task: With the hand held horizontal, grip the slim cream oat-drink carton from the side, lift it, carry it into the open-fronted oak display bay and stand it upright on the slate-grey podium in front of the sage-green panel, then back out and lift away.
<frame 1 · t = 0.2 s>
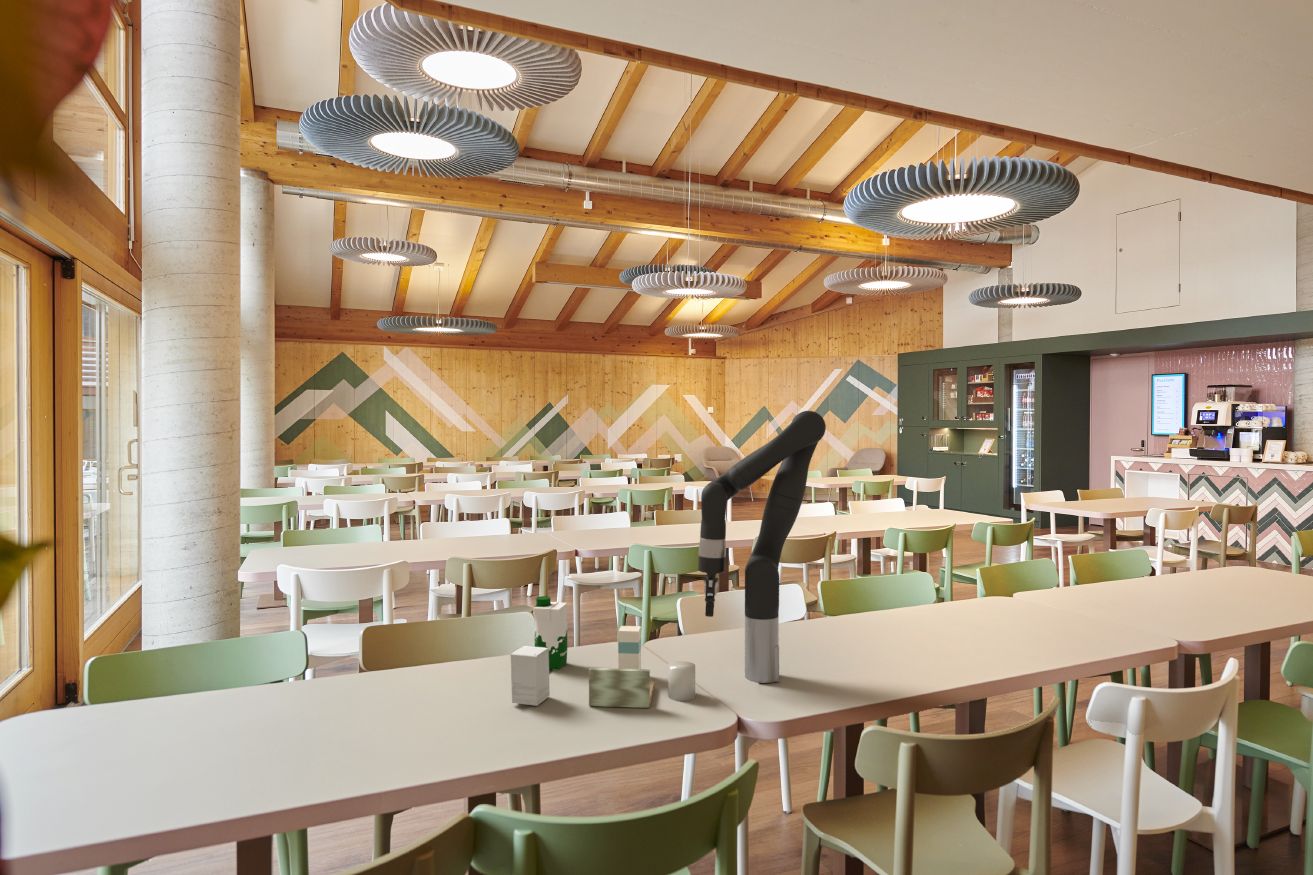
hand: (709, 612, 215), 18 cm above the table, tool pointing down, fingers open, 8 cm apart
white tapered tumbler: (681, 696, 199), on the table
display bay: (622, 696, 198), on the table
milk carton: (551, 667, 224), on the table
oat carton: (629, 679, 212), on the table
supplement box: (530, 700, 197), on the table
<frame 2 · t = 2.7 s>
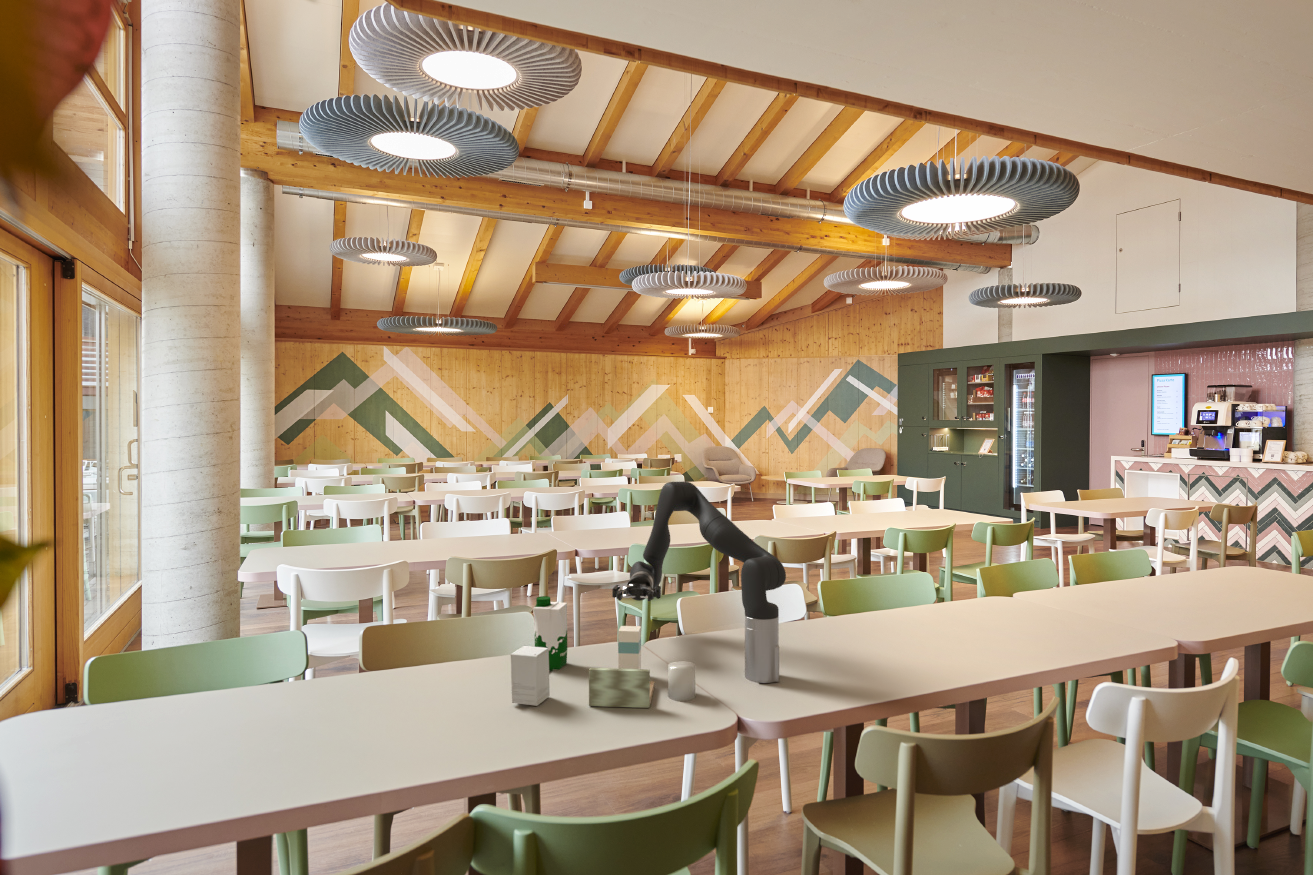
hand: (634, 597, 223), 20 cm above the table, tool horizontal, fingers open, 8 cm apart
nothing on the table moved.
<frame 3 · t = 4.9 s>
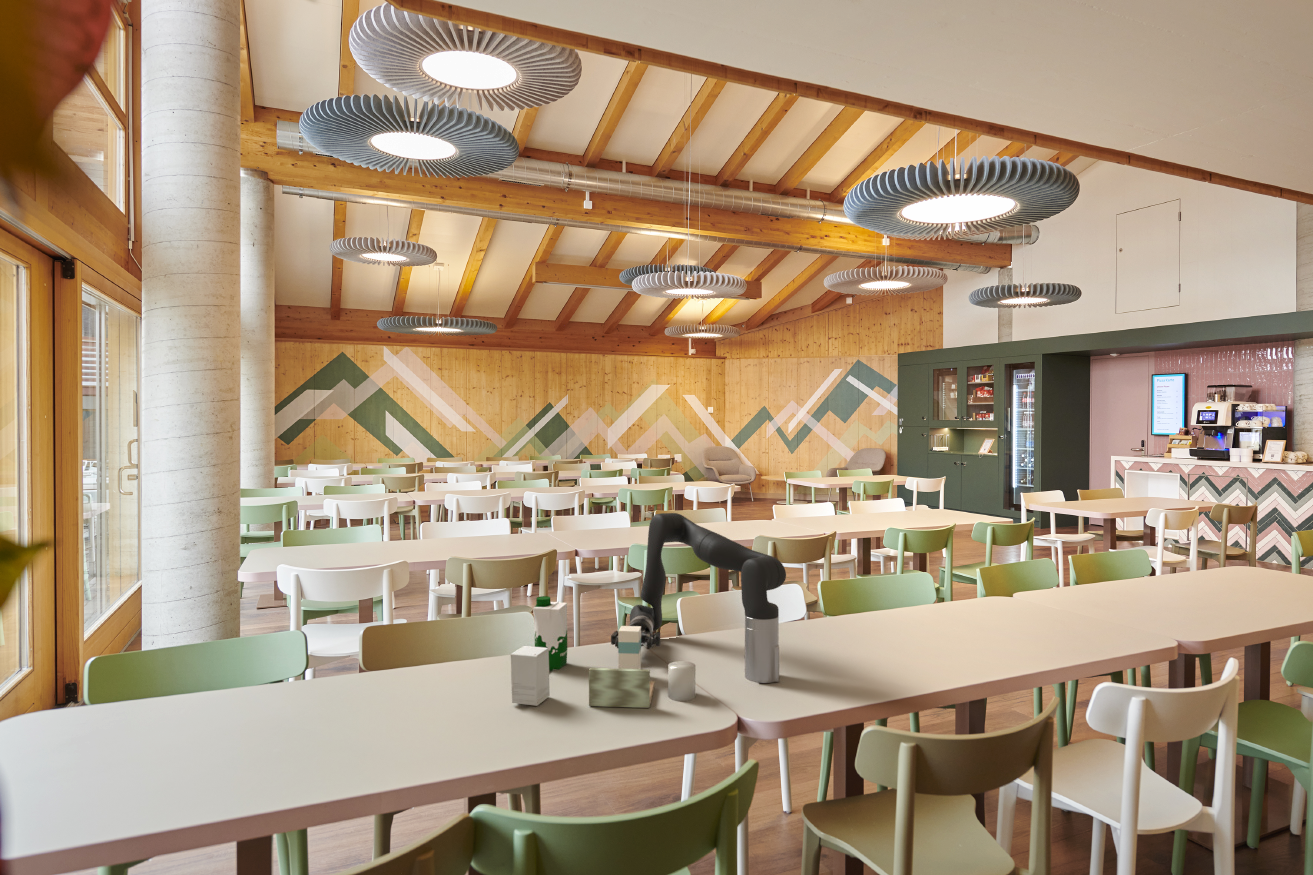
hand: (633, 645, 219), 7 cm above the table, tool horizontal, fingers open, 8 cm apart
nothing on the table moved.
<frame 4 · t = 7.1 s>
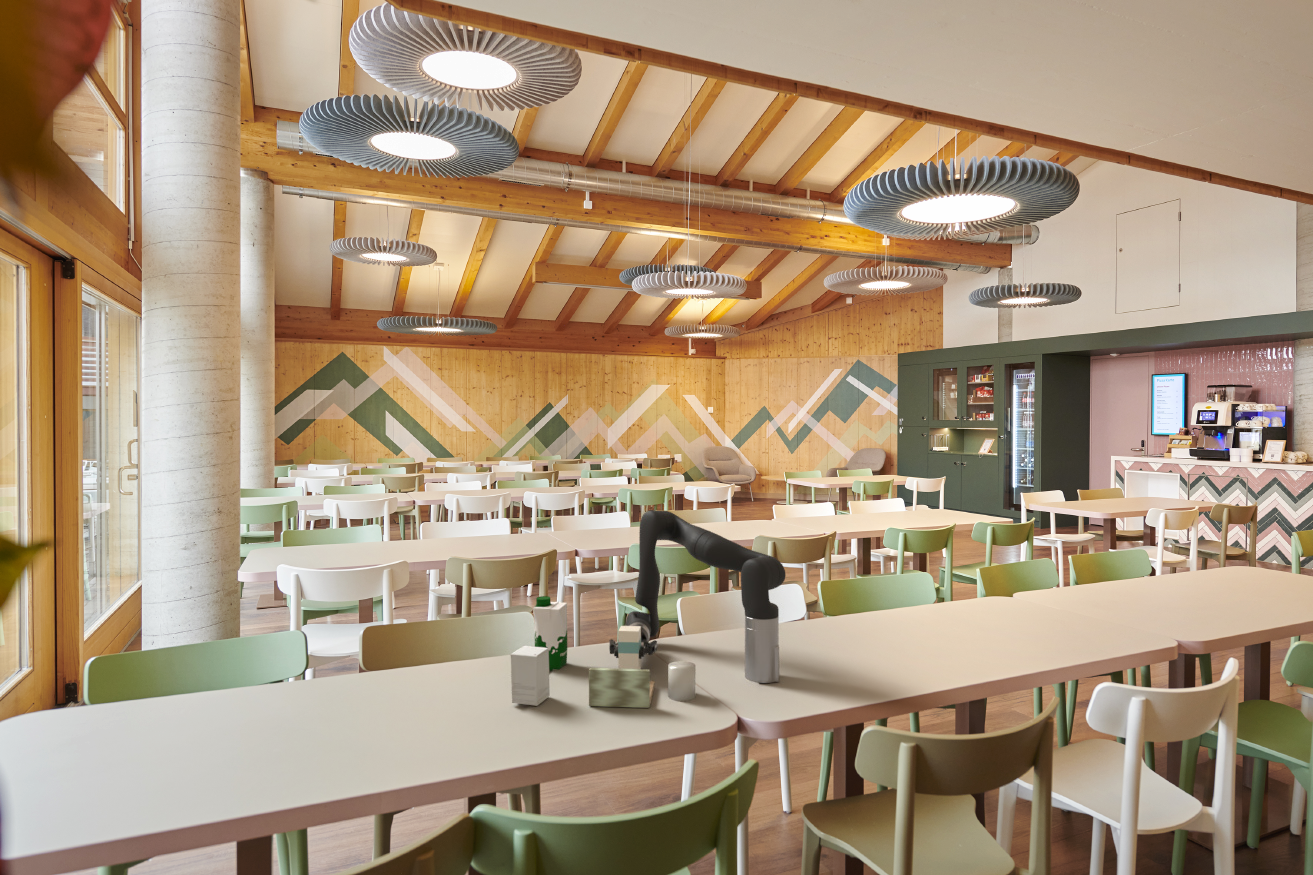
hand: (628, 654, 210), 8 cm above the table, tool horizontal, fingers closed on oat carton, 5 cm apart
oat carton: (629, 679, 212), on the table, touching gripper
everything else where it was.
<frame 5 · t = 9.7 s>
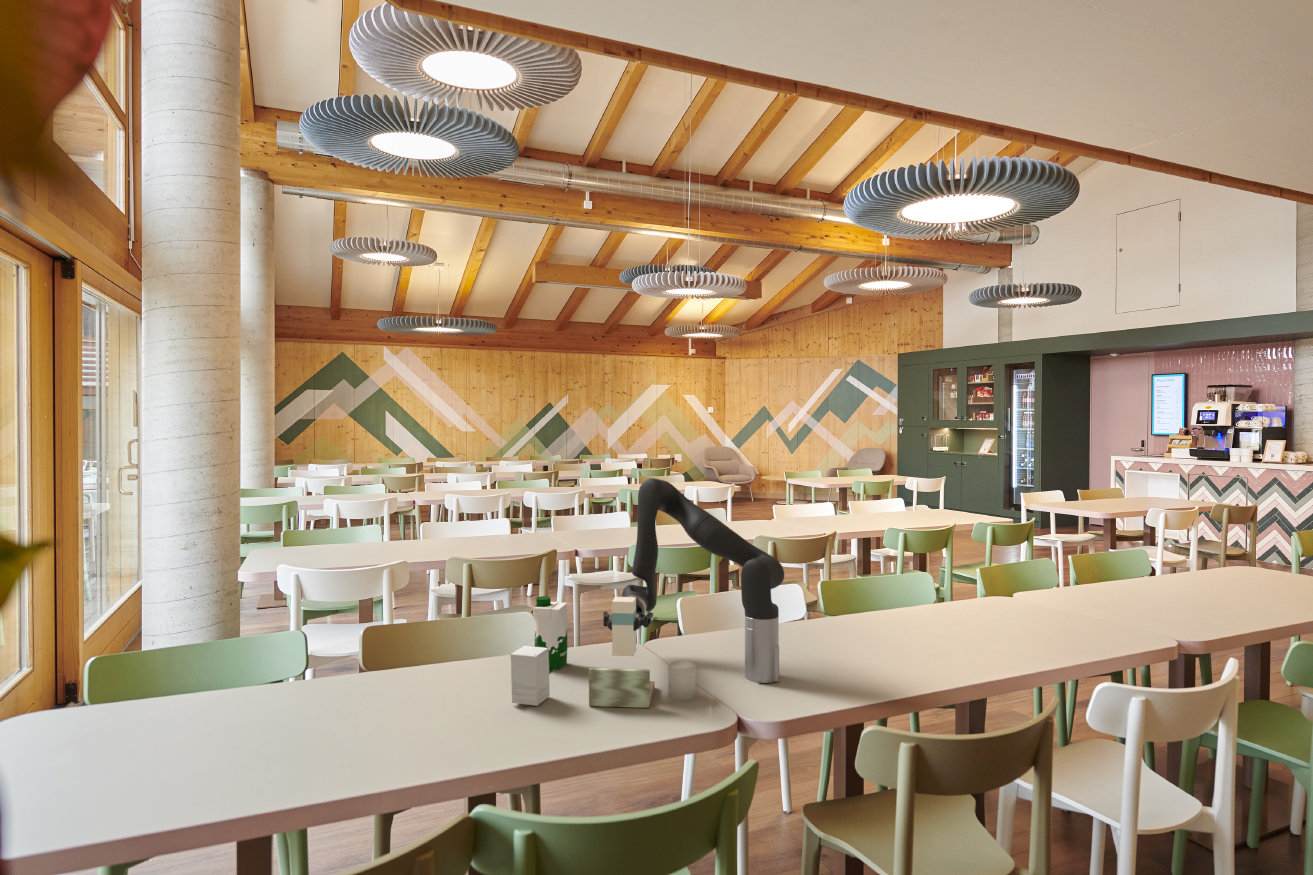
hand: (622, 626, 200), 18 cm above the table, tool horizontal, fingers closed on oat carton, 5 cm apart
oat carton: (624, 652, 202), point 10 cm above the table, touching gripper
everything else where it was.
when the fingers open (11 cm above the table, at t = 12.3 s): oat carton drops 1 cm, resting on display bay.
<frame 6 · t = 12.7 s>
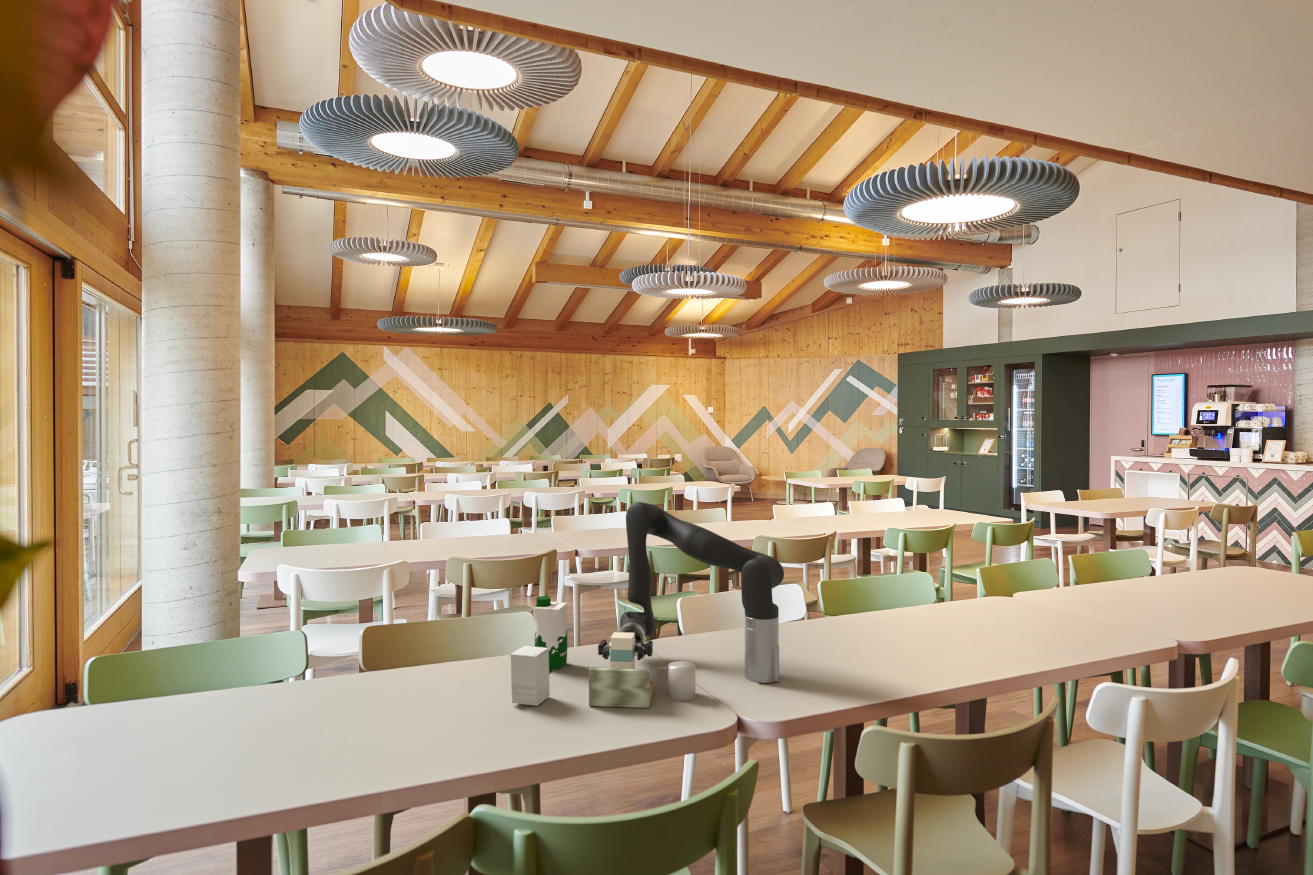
hand: (622, 655, 197), 11 cm above the table, tool horizontal, fingers open, 8 cm apart
oat carton: (622, 689, 200), point 2 cm above the table, touching display bay
everything else where it was.
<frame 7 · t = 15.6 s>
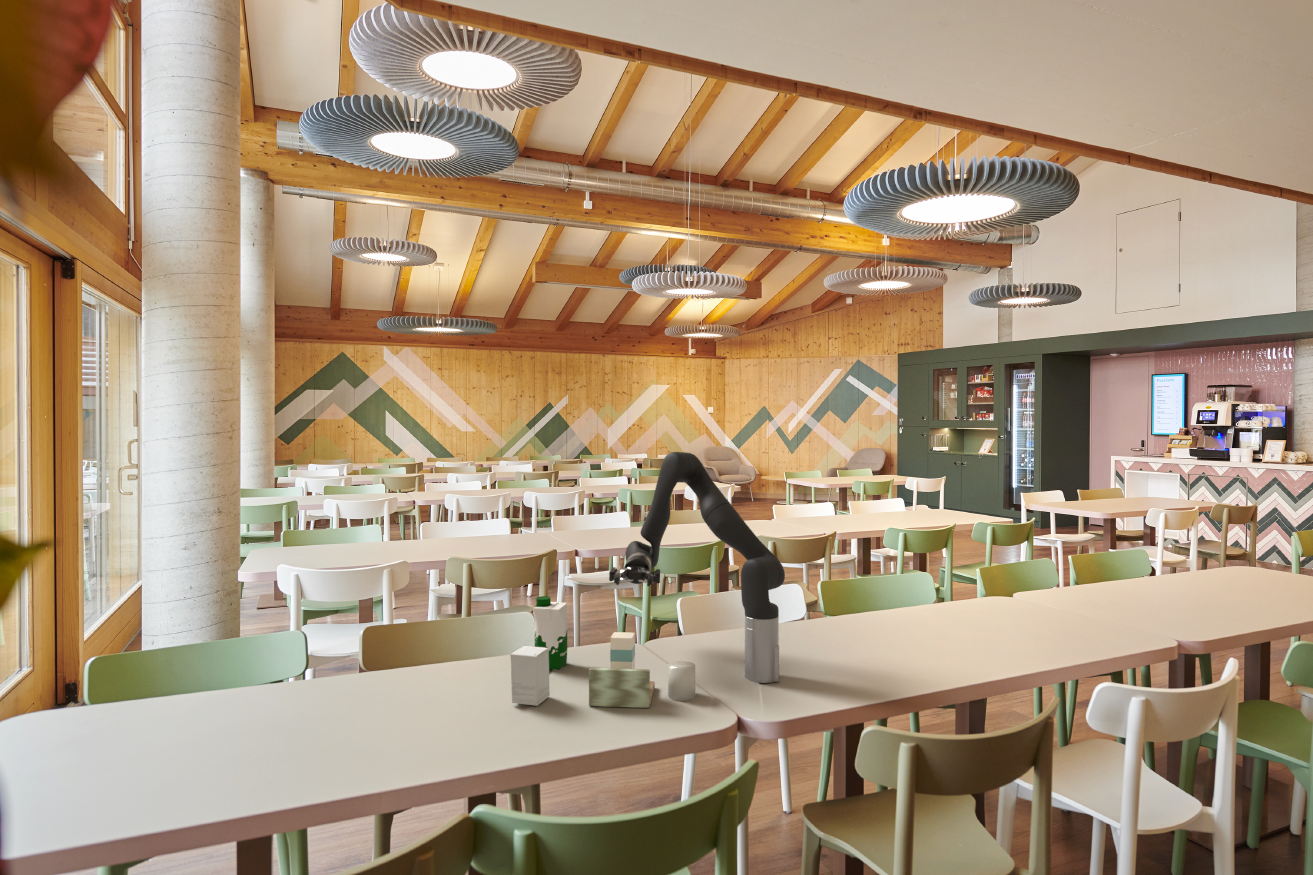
hand: (633, 581, 211), 27 cm above the table, tool horizontal, fingers open, 8 cm apart
nothing on the table moved.
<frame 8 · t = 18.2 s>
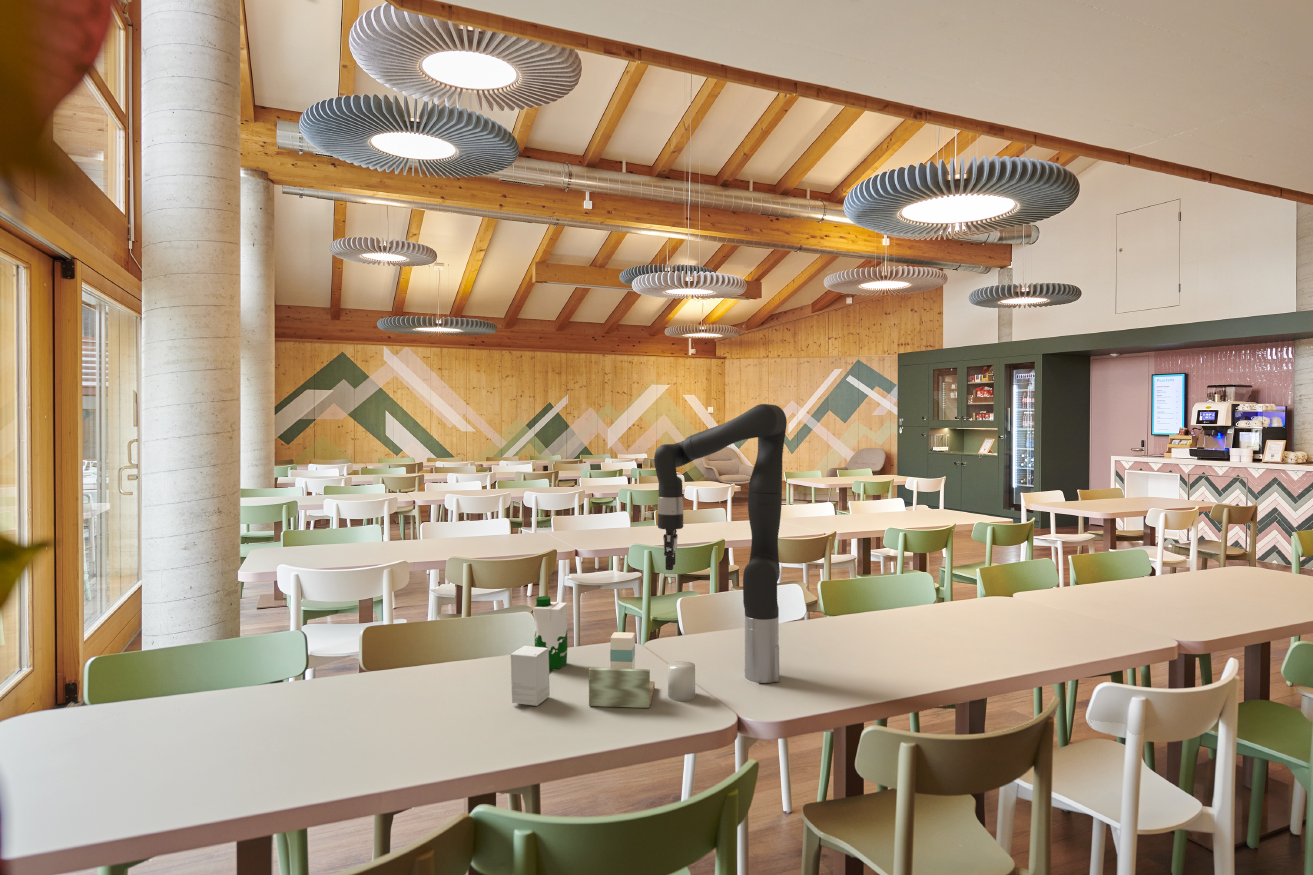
hand: (670, 567, 227), 28 cm above the table, tool pointing down, fingers open, 8 cm apart
nothing on the table moved.
at the end: oat carton inside the target area (0.4 cm from its centre), point 1.6 cm above the table; oat carton tilted 0°; white tapered tumbler moved 0.0 cm from its start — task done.
